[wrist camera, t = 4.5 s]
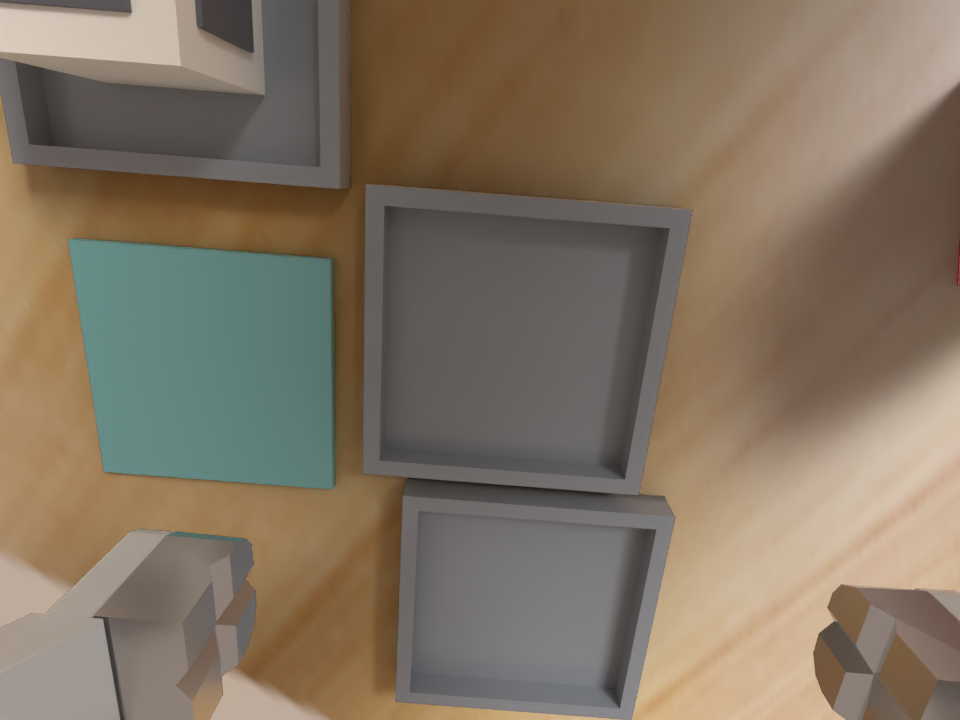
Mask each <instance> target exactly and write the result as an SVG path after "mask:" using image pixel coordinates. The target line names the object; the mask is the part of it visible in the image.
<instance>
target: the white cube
mask: <svg viewBox="0 0 960 720" xmlns="http://www.w3.org/2000/svg"><path fill="white" fill-rule="evenodd" d="M0 58H4V59H8V60H12V61H16V62H21V63H25V64H29V65H33V66H37V67H42V68H46V69H50V70H54V71H58V72H63V73H67V74H71V75H75V76H79V77H84V78H88V79H92V80H96V81H100V82H105V83H114V84H127V85H139V86H152V87H165V88H177V89H190V90H203V91H215V92H228V93H241V94H253V95H265V77H264V54H263V30H262V7H261V0H0Z"/></svg>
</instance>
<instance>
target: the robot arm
mask: <svg viewBox="0 0 960 720" xmlns="http://www.w3.org/2000/svg"><path fill="white" fill-rule="evenodd" d="M253 565H254V561H253V552H252V544H251V543H250V542H249V541H248V540H247V539H246V538H236V537H226V536H216V535H205V534H195V533H185V532H171V531H161V530H149V529H138V530H135V531H131V532H129V533H128V534H127V535H125V536H124V537H123V538H122V539H121V540H120V541H119V542H118V543H117V544H116V545H115V546H114V547H113V548H112V549H111V550H110V551H109V552H108V553H107V554H106V555H105V556H104V557H103V558H102V559H101V560H100V561H99V562H98V563H97V564H96V565H95V566H94V567H93V568H92V569H90V570H89V571H88V572H87V573H86V574H85V575H84V576H83V577H82V578H81V579H80V580H79V581H78V582H77V583H76V584H75V585H74V586H73V587H72V588H71V589H70V590H69V591H68V592H67V593H66V594H65V595H64V596H63V597H62V598H61V599H60V600H59V601H58V602H57V603H55V604H54V605H53V606H52V607H51V609H49V610H48V611H47V612H46V613H45V614H35V613H31V614H29V615H27V616H25V617H22V618H20V619H18V620H16V621H14V622H11V623H9V624H7V625H5V626H3V627H1V628H0V720H210V718H211V716H212V714H213V712H214V711H215V708H216V706H217V705H218V703H219V701H220V699H221V697H222V695H223V688H222V676H223V675H224V674H226V673H227V672H229V671H230V670H231V669H233V668H234V667H236V666H237V665H238V664H239V663H240V661H241V659H242V657H243V655H244V653H245V651H246V649H247V647H248V644H249V640H250V637H251V633H252V630H253V627H254V623H255V614H256V591H255V590H254V588H253V587H252V586H251V585H250V584H249V582H248V581H247V580H246V579H245V578H246V576H247V575H248V573H249V571H250V570H251V568H252V566H253ZM827 608H828V610H829V612H830V614H831V616H832V618H833V620H834V622H833V623H831V624H830V625H829V626H828V627H826V628H825V629H824V630H823V631H821V632H820V633H819V635H818V638H817V642H816V645H815V649H814V653H813V655H814V665H815V675H816V677H817V680H818V683H819V686H820V688H821V691H822V693H823V695H824V696H825V698H826V699H827V701H828V703H829V704H830V706H831V708H832V709H833V710H834V711H835V712H837V713H838V714H839V715H840V716H842V717H843V718H844V719H846V720H960V593H959V592H956V591H954V590H937V589H917V588H916V589H914V590H912V589H899V588H885V587H871V586H857V585H843V584H841V585H840V586H839V587H838V588H837V589H836V590H835V591H834V592H833V593H832V596H831V599H830V602H829V605H828V607H827Z"/></svg>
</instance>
